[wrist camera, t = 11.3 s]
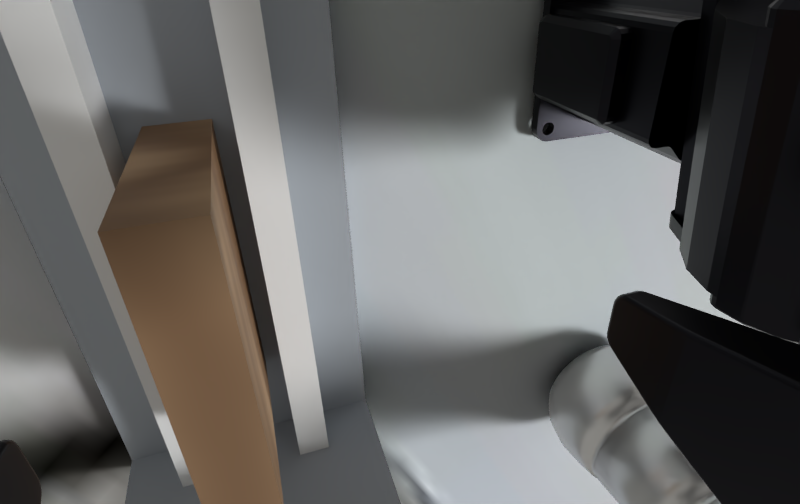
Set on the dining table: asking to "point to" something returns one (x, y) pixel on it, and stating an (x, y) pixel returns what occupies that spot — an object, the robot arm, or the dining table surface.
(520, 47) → the dining table surface
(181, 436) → the door panel
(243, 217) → the track board
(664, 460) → the plastic bottle
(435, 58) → the dining table surface
